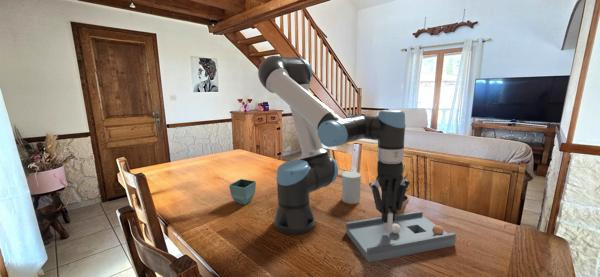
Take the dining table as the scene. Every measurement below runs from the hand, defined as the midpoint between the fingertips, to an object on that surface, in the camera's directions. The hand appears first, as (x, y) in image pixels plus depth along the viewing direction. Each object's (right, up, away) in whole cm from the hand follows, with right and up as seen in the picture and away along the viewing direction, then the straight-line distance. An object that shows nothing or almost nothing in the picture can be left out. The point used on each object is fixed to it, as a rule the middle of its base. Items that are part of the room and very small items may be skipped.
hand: (387, 230), depth 83 cm
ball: (+3, 0, +1) cm, 3 cm away
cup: (-5, +2, +32) cm, 33 cm away
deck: (+4, -4, +2) cm, 6 cm away
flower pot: (-54, +1, +33) cm, 63 cm away
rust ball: (+16, 0, -1) cm, 16 cm away
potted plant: (+9, 0, +18) cm, 21 cm away
